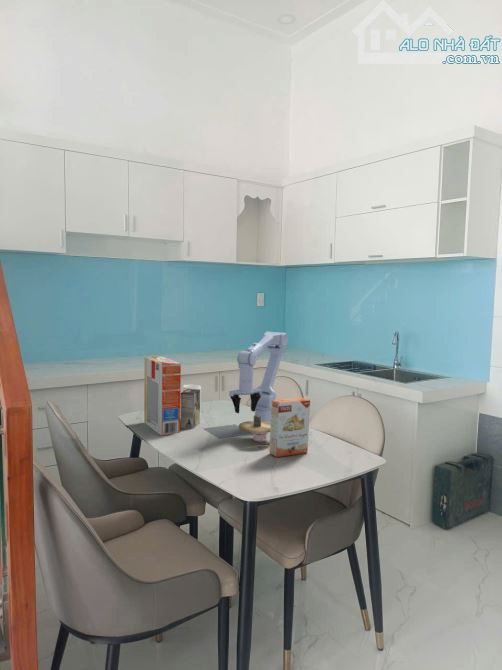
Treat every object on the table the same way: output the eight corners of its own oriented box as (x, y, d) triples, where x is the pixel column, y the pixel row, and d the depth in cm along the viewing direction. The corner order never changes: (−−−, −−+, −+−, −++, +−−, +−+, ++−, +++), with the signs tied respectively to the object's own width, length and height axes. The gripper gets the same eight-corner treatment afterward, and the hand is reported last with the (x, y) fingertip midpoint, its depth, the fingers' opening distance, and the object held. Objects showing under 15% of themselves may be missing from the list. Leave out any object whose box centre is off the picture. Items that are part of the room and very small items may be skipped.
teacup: (254, 436, 216) (254, 422, 216) (279, 441, 211) (280, 426, 210) (240, 443, 206) (240, 428, 205) (266, 449, 200) (267, 433, 200)
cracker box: (277, 458, 189) (278, 402, 187) (268, 453, 195) (270, 399, 193) (308, 453, 196) (310, 399, 194) (300, 448, 201) (301, 396, 199)
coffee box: (186, 423, 234) (187, 388, 232) (200, 424, 232) (200, 389, 231) (179, 428, 225) (180, 392, 223) (193, 429, 223) (194, 393, 222)
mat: (235, 425, 232) (235, 424, 232) (253, 434, 218) (253, 433, 218) (202, 429, 224) (203, 428, 224) (219, 439, 210) (219, 438, 210)
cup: (203, 419, 241) (204, 385, 239) (192, 423, 234) (193, 388, 232) (190, 416, 245) (190, 383, 244) (179, 420, 238) (179, 386, 237)
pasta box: (179, 433, 218) (180, 363, 215) (161, 435, 214) (162, 364, 211) (161, 420, 237) (161, 356, 234) (144, 422, 233) (144, 357, 230)
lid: (255, 420, 218) (256, 409, 218) (283, 427, 208) (283, 416, 208) (231, 427, 207) (231, 415, 207) (258, 435, 197) (259, 423, 197)
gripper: (256, 377, 221) (255, 408, 222) (226, 379, 214) (225, 411, 215) (264, 380, 215) (263, 411, 216) (234, 382, 208) (233, 415, 209)
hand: (245, 411), depth 215 cm, fingers open, 7 cm apart
